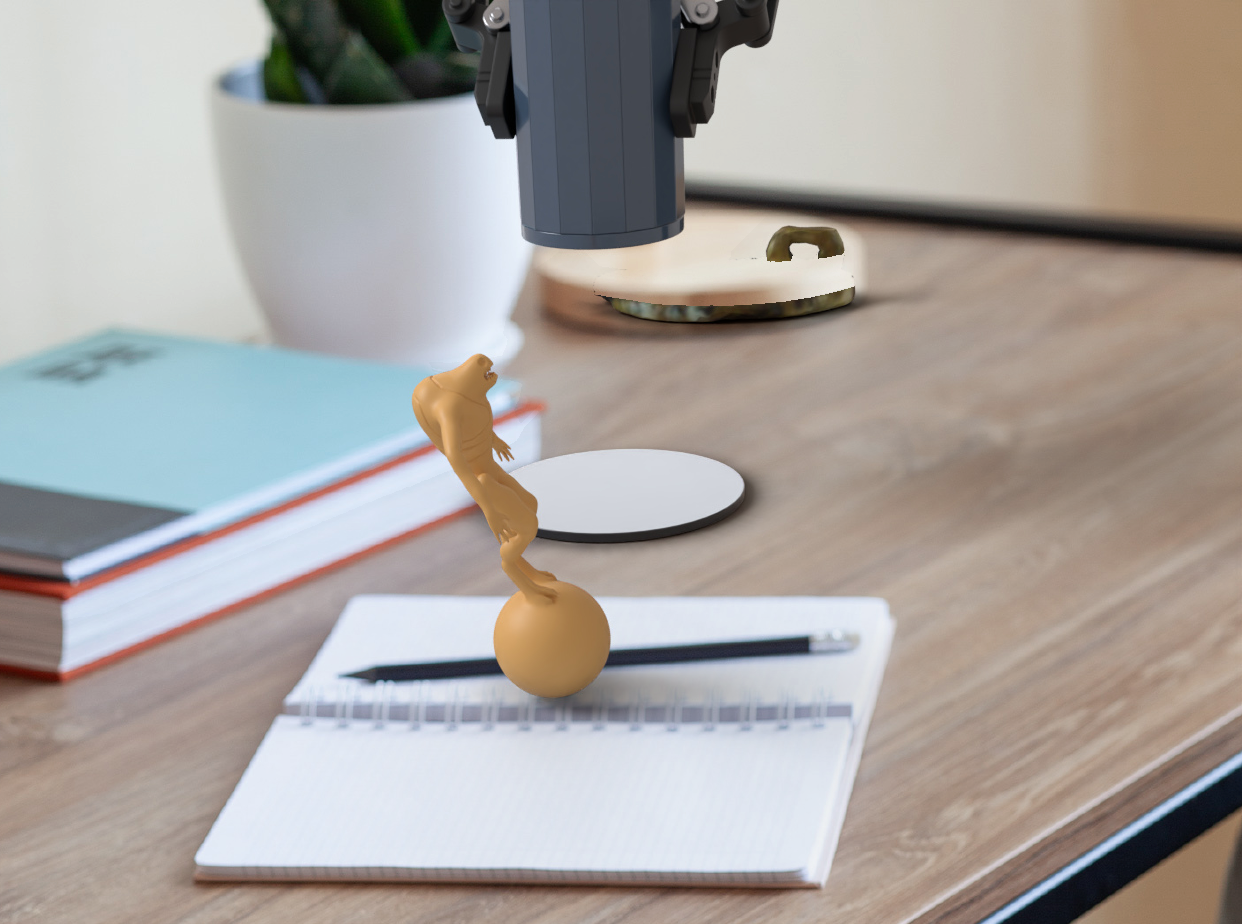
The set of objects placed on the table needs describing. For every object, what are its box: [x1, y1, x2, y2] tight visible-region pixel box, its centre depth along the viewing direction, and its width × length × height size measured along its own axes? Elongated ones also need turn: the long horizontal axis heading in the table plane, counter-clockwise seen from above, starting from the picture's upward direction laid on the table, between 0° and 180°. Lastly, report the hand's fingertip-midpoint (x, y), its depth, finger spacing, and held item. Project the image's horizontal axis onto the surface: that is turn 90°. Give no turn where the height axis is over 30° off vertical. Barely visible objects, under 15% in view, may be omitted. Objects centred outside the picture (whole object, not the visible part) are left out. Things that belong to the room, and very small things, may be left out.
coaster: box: [507, 448, 746, 543], centre depth 89 cm, size 11×11×1 cm
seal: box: [595, 224, 856, 323], centre depth 118 cm, size 9×5×15 cm
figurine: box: [411, 353, 612, 699], centre depth 69 cm, size 8×6×12 cm
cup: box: [508, 0, 686, 251], centre depth 83 cm, size 7×7×10 cm
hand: (590, 126), depth 81 cm, fingers closed on cup, 6 cm apart
